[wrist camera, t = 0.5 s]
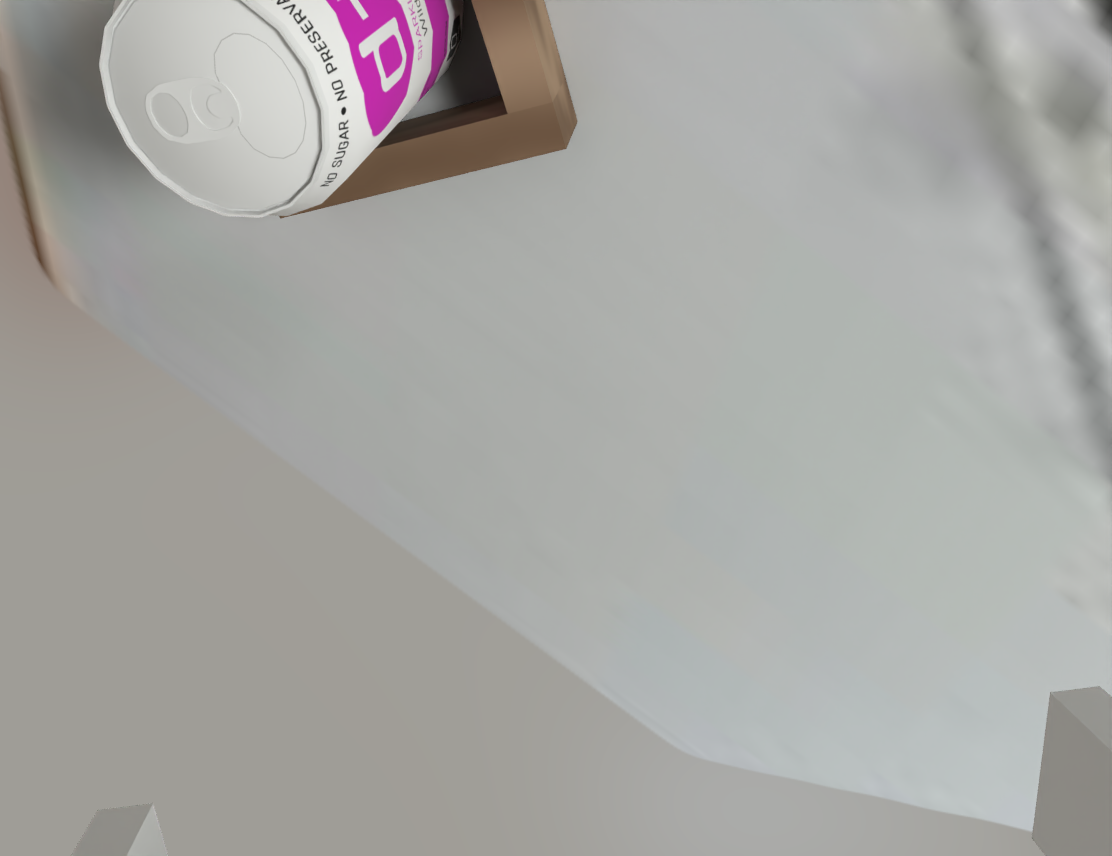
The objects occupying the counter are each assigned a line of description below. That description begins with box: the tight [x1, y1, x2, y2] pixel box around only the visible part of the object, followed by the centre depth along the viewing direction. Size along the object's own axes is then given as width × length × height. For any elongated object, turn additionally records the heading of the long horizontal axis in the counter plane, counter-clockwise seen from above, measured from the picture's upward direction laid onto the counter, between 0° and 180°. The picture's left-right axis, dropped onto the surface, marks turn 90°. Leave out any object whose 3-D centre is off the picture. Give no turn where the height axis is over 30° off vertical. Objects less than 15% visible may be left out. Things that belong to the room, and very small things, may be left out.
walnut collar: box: [279, 0, 577, 218], centre depth 35 cm, size 14×14×4 cm
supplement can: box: [99, 0, 464, 218], centre depth 31 cm, size 8×8×15 cm
